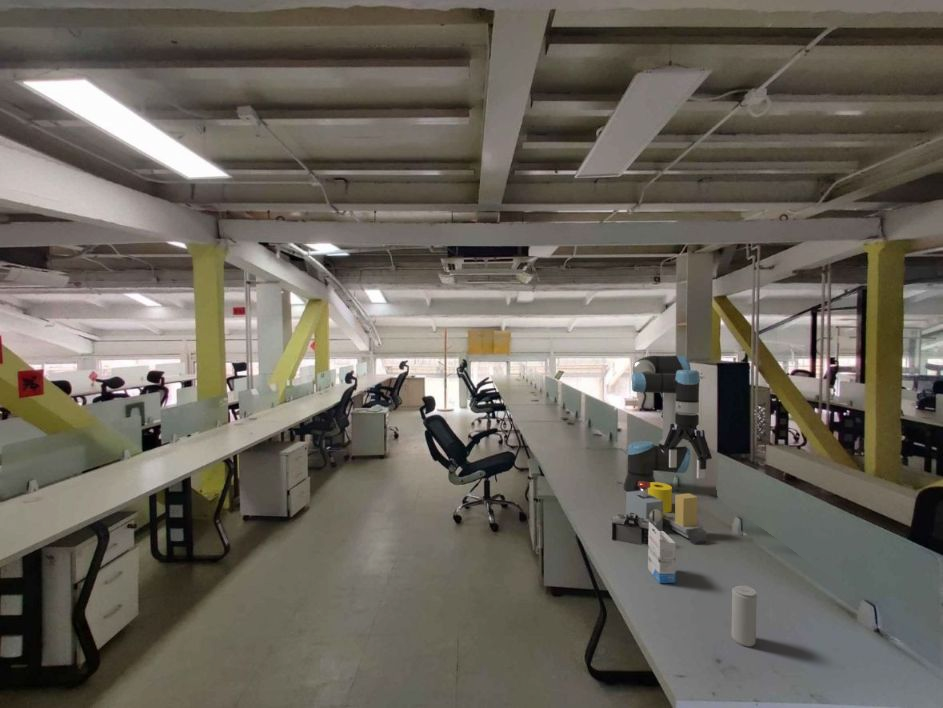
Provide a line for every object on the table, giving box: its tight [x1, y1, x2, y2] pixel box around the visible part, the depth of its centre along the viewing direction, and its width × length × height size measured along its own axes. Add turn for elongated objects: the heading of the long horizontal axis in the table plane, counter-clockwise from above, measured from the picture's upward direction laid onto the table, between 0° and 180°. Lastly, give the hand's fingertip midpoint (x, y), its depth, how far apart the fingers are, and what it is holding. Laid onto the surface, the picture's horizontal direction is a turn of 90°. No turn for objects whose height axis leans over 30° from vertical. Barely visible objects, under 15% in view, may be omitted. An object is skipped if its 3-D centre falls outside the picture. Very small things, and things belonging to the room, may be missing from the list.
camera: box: [610, 513, 659, 547], centre depth 152 cm, size 16×9×10 cm, turn 65°
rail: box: [662, 513, 707, 545], centre depth 161 cm, size 5×23×4 cm, turn 15°
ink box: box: [647, 522, 677, 584], centre depth 129 cm, size 8×5×15 cm, turn 0°
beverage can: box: [730, 584, 758, 647], centre depth 100 cm, size 5×5×12 cm
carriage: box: [670, 492, 704, 539], centre depth 156 cm, size 7×8×13 cm
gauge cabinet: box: [625, 491, 664, 531], centre depth 164 cm, size 7×13×11 cm, turn 15°
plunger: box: [638, 481, 650, 499], centre depth 164 cm, size 4×4×8 cm
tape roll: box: [648, 481, 673, 514], centre depth 181 cm, size 10×10×9 cm
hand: (686, 472), depth 155 cm, fingers open, 13 cm apart
